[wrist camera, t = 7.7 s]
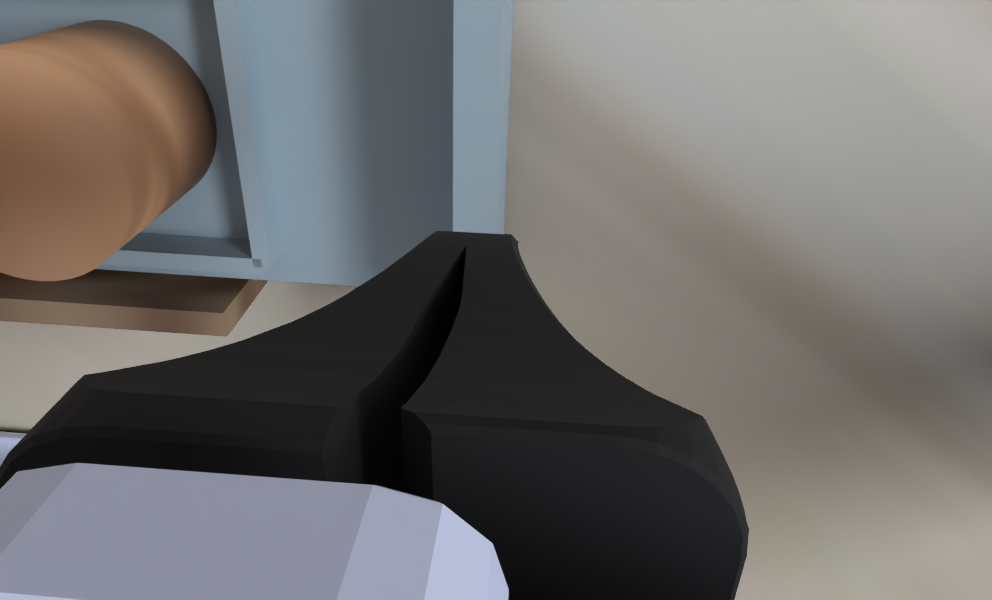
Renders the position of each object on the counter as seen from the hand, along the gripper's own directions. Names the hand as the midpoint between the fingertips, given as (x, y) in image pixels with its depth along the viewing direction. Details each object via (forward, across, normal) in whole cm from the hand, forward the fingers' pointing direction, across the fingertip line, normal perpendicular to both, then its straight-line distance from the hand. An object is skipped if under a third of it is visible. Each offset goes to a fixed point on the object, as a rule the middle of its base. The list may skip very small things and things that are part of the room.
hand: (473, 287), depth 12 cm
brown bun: (+8, +10, 0) cm, 14 cm away
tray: (+9, +7, 0) cm, 12 cm away
